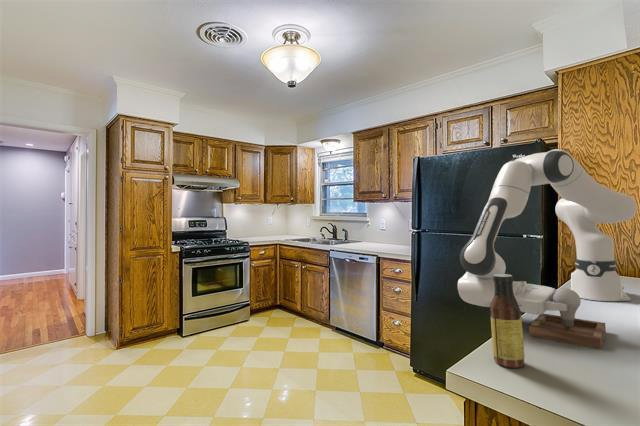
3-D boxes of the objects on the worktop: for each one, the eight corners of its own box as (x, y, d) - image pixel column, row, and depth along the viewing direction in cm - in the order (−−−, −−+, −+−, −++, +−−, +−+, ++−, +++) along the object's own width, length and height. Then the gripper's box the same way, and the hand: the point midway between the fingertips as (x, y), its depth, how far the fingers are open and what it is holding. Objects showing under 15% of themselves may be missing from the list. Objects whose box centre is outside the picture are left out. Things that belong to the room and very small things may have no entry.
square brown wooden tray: (541, 321, 103) (541, 313, 103) (605, 332, 92) (605, 322, 92) (529, 335, 92) (528, 326, 92) (600, 349, 81) (599, 338, 81)
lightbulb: (586, 332, 90) (584, 291, 89) (561, 332, 91) (559, 292, 90) (574, 323, 96) (572, 285, 95) (550, 323, 97) (548, 286, 96)
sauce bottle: (531, 366, 74) (528, 276, 74) (509, 371, 72) (505, 279, 72) (507, 355, 80) (504, 271, 80) (485, 359, 78) (482, 274, 78)
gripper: (502, 292, 94) (563, 300, 84) (521, 280, 108) (575, 285, 99) (503, 314, 94) (563, 325, 84) (522, 299, 108) (576, 306, 99)
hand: (570, 303), depth 91 cm, fingers open, 8 cm apart
